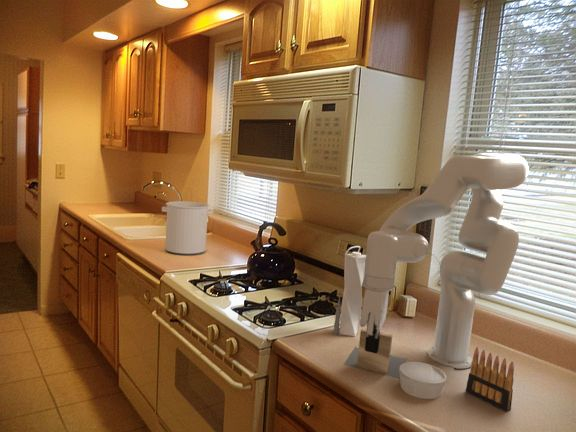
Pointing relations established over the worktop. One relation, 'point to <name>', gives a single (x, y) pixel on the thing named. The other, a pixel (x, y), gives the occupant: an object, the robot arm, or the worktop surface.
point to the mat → (392, 371)
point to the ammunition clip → (491, 381)
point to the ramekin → (422, 380)
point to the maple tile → (378, 359)
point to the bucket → (186, 227)
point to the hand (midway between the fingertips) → (371, 350)
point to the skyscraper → (351, 295)
